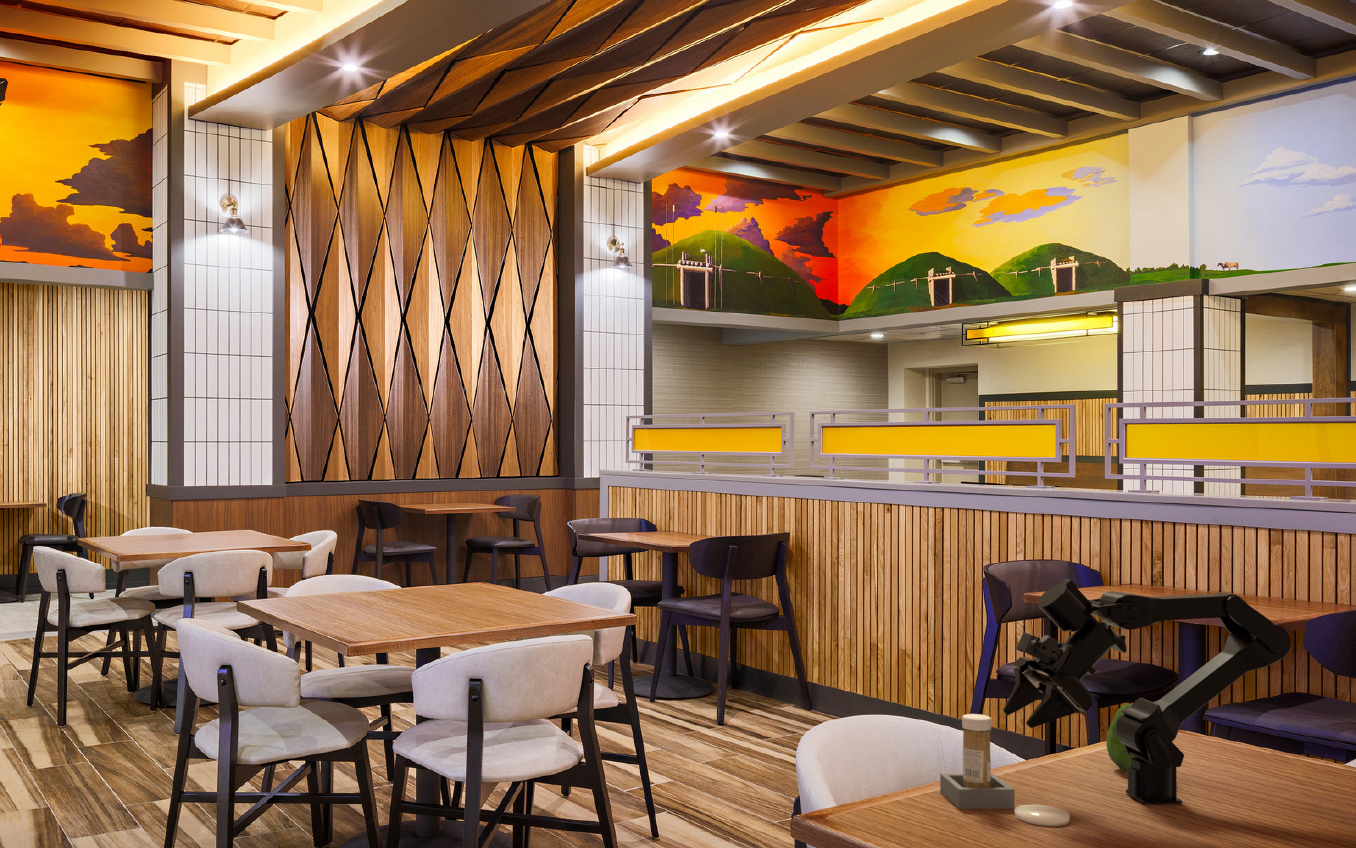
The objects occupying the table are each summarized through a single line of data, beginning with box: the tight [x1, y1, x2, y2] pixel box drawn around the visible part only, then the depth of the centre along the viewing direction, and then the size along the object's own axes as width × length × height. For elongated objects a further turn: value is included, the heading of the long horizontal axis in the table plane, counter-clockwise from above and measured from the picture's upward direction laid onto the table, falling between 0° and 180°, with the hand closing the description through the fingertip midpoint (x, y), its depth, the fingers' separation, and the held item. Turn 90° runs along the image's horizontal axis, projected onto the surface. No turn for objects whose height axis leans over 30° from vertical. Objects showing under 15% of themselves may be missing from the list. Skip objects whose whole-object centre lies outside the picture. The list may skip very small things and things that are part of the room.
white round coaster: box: [1014, 804, 1071, 827], centre depth 162 cm, size 8×8×1 cm
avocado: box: [1105, 703, 1135, 772], centre depth 190 cm, size 8×8×12 cm
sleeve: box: [939, 773, 1016, 810], centre depth 170 cm, size 9×9×3 cm
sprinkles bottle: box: [961, 713, 992, 788], centre depth 170 cm, size 5×5×14 cm
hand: (1016, 719), depth 171 cm, fingers open, 9 cm apart
